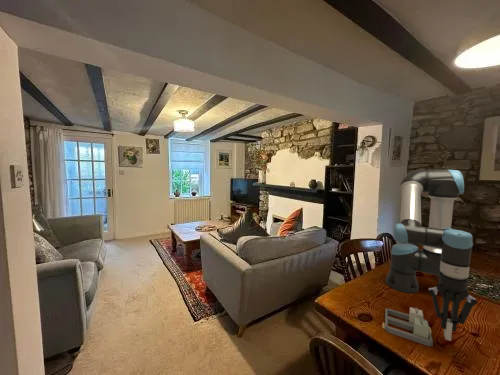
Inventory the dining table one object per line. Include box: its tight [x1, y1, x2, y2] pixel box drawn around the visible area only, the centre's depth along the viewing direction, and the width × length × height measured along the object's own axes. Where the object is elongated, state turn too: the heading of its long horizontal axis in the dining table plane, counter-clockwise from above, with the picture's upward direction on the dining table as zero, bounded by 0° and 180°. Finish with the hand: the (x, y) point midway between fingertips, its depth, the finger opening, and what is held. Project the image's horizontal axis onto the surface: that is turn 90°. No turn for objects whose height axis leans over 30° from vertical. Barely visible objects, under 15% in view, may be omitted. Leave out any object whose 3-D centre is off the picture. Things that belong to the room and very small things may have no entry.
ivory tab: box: [408, 306, 424, 324], centre depth 90 cm, size 4×4×7 cm
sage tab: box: [412, 317, 430, 339], centre depth 84 cm, size 4×4×7 cm
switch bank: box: [381, 308, 434, 347], centre depth 89 cm, size 14×17×3 cm
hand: (447, 337), depth 80 cm, fingers closed
